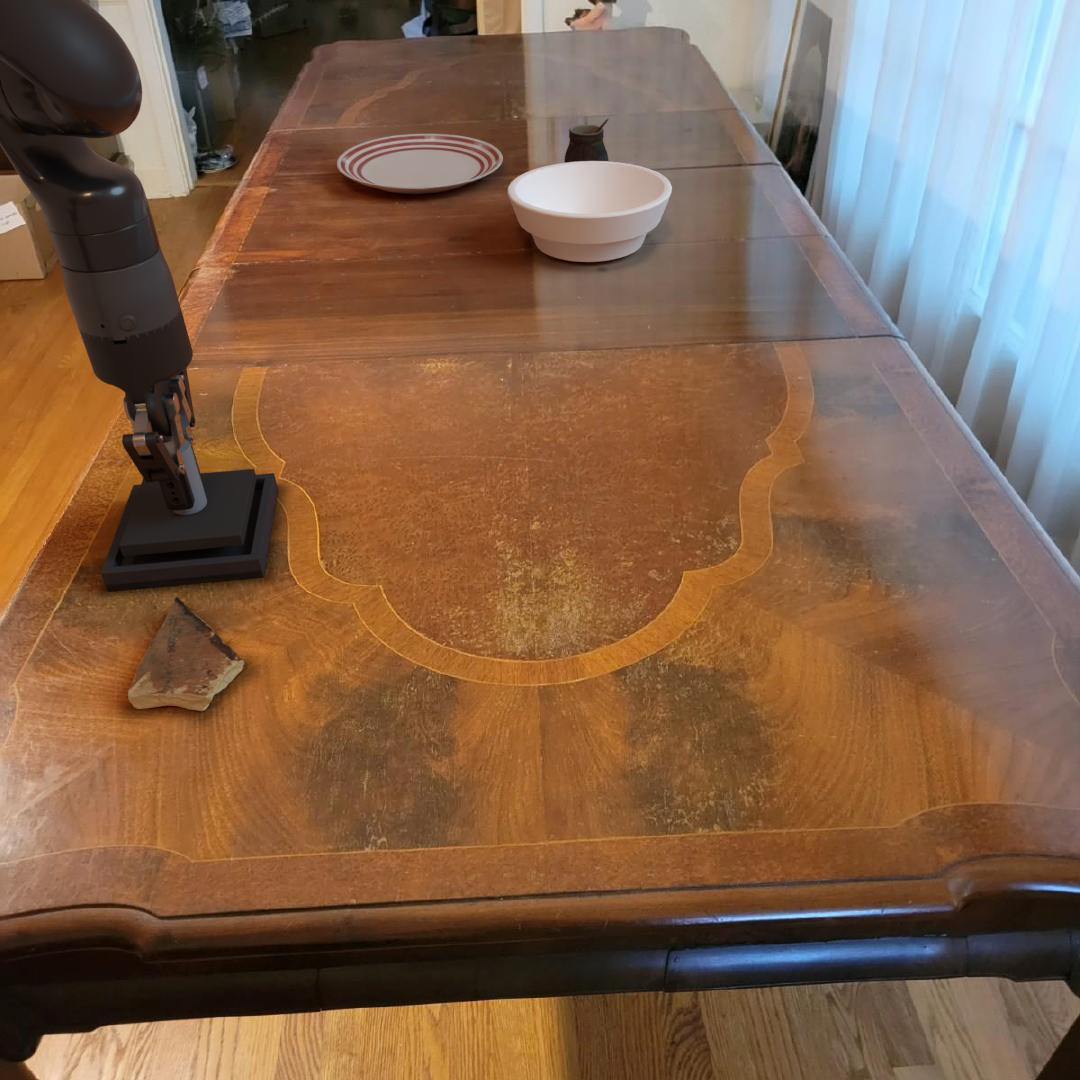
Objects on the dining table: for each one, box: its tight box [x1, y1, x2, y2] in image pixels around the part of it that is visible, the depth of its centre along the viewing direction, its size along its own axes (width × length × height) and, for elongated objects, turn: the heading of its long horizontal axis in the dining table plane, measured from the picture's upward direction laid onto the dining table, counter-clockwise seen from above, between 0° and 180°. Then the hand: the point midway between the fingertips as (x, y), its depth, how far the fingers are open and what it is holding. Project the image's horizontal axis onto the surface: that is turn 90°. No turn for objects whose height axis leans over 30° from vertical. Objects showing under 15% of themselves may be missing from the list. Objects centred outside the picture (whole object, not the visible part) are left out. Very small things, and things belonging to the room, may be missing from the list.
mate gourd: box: [563, 118, 610, 163], centre depth 158 cm, size 7×8×10 cm
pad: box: [119, 439, 256, 556], centre depth 84 cm, size 10×10×7 cm
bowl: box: [507, 160, 673, 263], centre depth 136 cm, size 22×22×8 cm
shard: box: [127, 596, 245, 712], centre depth 75 cm, size 11×8×2 cm
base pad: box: [100, 472, 279, 592], centre depth 87 cm, size 13×13×2 cm
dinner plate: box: [336, 133, 504, 195], centre depth 164 cm, size 28×27×3 cm
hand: (185, 494), depth 85 cm, fingers closed on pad, 3 cm apart
